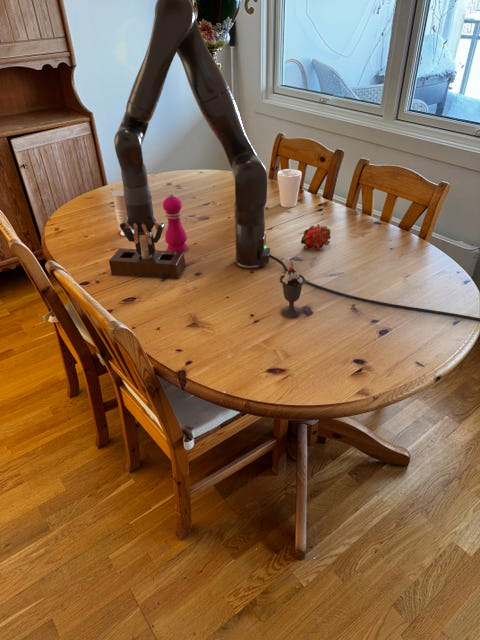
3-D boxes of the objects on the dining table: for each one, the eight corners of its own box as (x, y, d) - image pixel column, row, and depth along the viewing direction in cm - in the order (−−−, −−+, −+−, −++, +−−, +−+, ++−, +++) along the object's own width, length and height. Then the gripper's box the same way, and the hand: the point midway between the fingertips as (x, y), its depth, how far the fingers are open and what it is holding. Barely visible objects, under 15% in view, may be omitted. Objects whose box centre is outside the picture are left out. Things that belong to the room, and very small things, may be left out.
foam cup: (273, 202, 192) (274, 170, 185) (294, 199, 194) (295, 168, 187) (282, 210, 185) (283, 177, 177) (303, 207, 187) (305, 174, 180)
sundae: (287, 302, 129) (289, 254, 120) (308, 310, 125) (311, 261, 116) (273, 313, 124) (274, 263, 116) (294, 322, 121) (297, 271, 112)
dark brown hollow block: (185, 265, 148) (183, 251, 145) (177, 279, 141) (176, 264, 138) (122, 262, 151) (119, 248, 148) (111, 275, 144) (108, 260, 141)
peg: (154, 260, 146) (149, 227, 139) (151, 265, 143) (146, 232, 137) (144, 260, 146) (139, 227, 140) (141, 264, 143) (135, 231, 137)
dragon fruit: (331, 248, 159) (303, 261, 156) (318, 228, 161) (290, 240, 158) (340, 235, 151) (311, 249, 148) (327, 214, 153) (297, 227, 150)
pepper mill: (184, 255, 154) (178, 197, 143) (163, 254, 155) (156, 195, 144) (190, 246, 160) (185, 189, 148) (170, 244, 161) (163, 188, 150)
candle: (139, 234, 169) (133, 194, 160) (120, 237, 167) (113, 197, 158) (136, 227, 174) (129, 188, 166) (117, 230, 172) (110, 191, 164)
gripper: (109, 203, 131) (120, 258, 141) (157, 205, 129) (164, 260, 139) (119, 194, 137) (129, 247, 147) (165, 195, 135) (171, 249, 145)
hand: (146, 253), depth 143 cm, fingers closed on peg, 3 cm apart
